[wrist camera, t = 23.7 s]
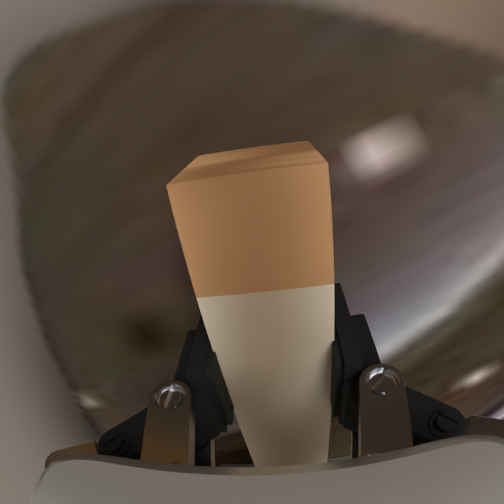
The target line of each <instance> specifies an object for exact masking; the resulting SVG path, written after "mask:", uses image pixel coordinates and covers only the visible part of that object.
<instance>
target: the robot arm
mask: <svg viewBox="0 0 504 504" xmlns="http://www.w3.org/2000/svg"><path fill="white" fill-rule="evenodd" d="M330 402H331V409H332V415H333V417H338V419H339V424H343V426H344V427H345V428H347V429H349V430H350V431H351V457H350V459H347V460H340V461H332V462H324V463H315V464H305V465H293V466H276V467H215V445H214V438H215V437H217V436H218V435H219V434H220V432H227V425H228V424H232V422H233V413H234V406H233V403H232V400H231V397H230V394H229V391H228V388H227V385H226V383H225V380H224V377H223V374H222V371H221V368H220V365H219V362H218V359H217V355H216V352H215V351H214V352H213V349H212V346H211V343H210V340H209V337H208V334H207V331H206V327H205V324H204V321H203V318H202V315H201V317H200V320H199V324H198V327H197V330H192V331H189V332H188V334H187V337H186V341H185V344H184V347H183V351H182V354H181V357H180V361H179V364H178V367H177V371H176V374H175V378H174V380H171V381H166V382H163V383H161V384H159V385H158V386H157V387H155V388H154V389H153V391H152V392H151V394H150V397H149V402H148V407H147V408H145V409H144V410H142V411H141V412H139V413H137V414H136V415H134V416H132V417H131V418H129V419H127V420H126V421H124V422H122V423H121V424H119V425H117V426H116V427H114V428H112V429H110V430H109V431H107V432H106V433H105V434H103V435H102V437H101V438H100V440H99V441H98V442H96V441H94V440H92V441H89V442H85V443H82V444H78V445H75V446H71V447H68V448H64V449H60V450H57V451H54V452H52V453H51V454H50V455H49V456H48V457H47V459H46V461H45V470H44V471H43V473H42V474H41V476H40V478H39V480H38V482H37V484H36V486H35V488H34V490H33V493H32V495H31V498H30V501H29V503H28V504H504V420H502V419H494V418H487V417H481V416H474V415H470V417H469V418H468V417H464V416H463V415H462V414H461V412H460V411H458V410H457V409H455V408H453V407H451V406H449V405H446V404H444V403H442V402H440V401H437V400H435V399H433V398H431V397H429V396H426V395H424V394H422V393H420V392H417V391H415V390H413V389H411V388H409V387H407V386H405V382H404V377H403V375H402V373H401V372H400V371H399V370H398V369H397V368H395V367H394V366H391V365H388V364H381V362H380V359H379V356H378V353H377V350H376V347H375V344H374V341H373V338H372V336H371V333H370V330H369V327H368V324H367V321H366V319H365V316H364V315H363V314H360V315H353V316H350V313H349V310H348V307H347V304H346V300H345V297H344V294H343V291H342V288H341V285H340V283H335V284H334V341H332V369H331V395H330Z"/></svg>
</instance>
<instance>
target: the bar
mask: <svg viewBox="0 0 504 504" xmlns="http://www.w3.org/2000/svg"><path fill="white" fill-rule="evenodd" d="M166 186H167V190H168V194H169V198H170V202H171V206H172V210H173V214H174V218H175V222H176V226H177V230H178V234H179V238H180V241H181V245H182V249H183V252H184V256H185V260H186V263H187V267H188V270H189V274H190V278H191V281H192V284H193V288H194V291H195V295H196V298H197V301H198V305H199V308H200V311H201V315H202V318H203V321H204V324H205V327H206V331H207V334H208V337H209V340H210V343H211V346H212V349H213V352H214V351H215V352H216V355H217V359H218V362H219V365H220V368H221V371H222V374H223V377H224V380H225V383H226V385H227V388H228V391H229V394H230V397H231V400H232V403H233V406H234V413H235V416H236V418H237V421H238V424H239V426H240V429H241V432H242V434H243V437H244V440H245V442H246V445H247V447H248V450H249V452H250V455H251V458H252V460H253V463H254V465H255V467H276V466H293V465H305V464H315V463H324V462H327V458H328V447H329V436H330V423H331V402H330V395H331V369H332V341H334V254H333V229H332V211H331V195H330V181H329V169H328V163H327V161H326V160H325V159H324V158H323V157H322V156H321V155H320V153H319V152H318V151H317V150H316V149H315V148H314V147H313V146H312V145H311V144H310V142H309V141H301V142H292V143H283V144H275V145H266V146H259V147H252V148H244V149H238V150H231V151H225V152H219V153H213V154H207V155H201V156H198V157H197V158H196V159H195V160H194V161H192V162H191V163H190V164H189V165H188V166H187V167H186V168H185V169H184V170H182V171H181V172H180V173H179V174H178V175H177V176H176V177H175V178H174V179H173V180H172V181H171V182H169V183H168V184H167V185H166Z"/></svg>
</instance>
